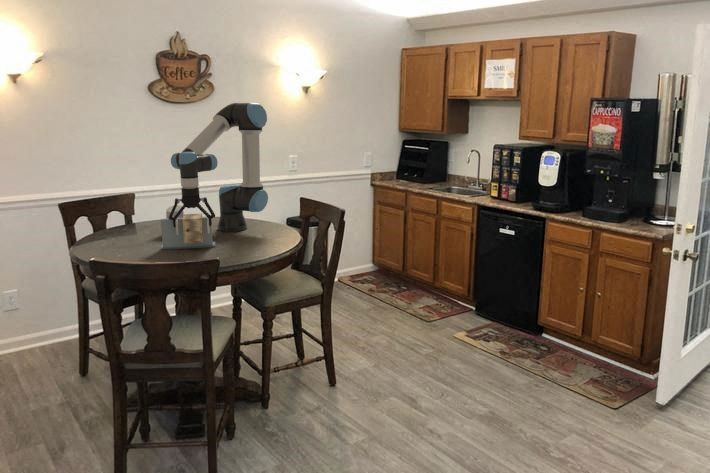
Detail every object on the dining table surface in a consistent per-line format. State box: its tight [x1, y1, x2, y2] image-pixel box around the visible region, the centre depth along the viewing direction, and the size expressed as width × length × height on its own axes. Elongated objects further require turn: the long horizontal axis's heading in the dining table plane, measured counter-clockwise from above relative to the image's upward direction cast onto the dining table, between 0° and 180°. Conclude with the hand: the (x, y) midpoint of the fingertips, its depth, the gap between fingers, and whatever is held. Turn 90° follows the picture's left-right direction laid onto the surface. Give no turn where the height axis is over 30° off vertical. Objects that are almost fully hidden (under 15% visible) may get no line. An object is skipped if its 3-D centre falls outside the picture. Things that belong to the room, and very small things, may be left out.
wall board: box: [160, 216, 216, 251], centre depth 270 cm, size 24×6×14 cm, turn 102°
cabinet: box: [182, 213, 203, 243], centre depth 265 cm, size 8×11×11 cm
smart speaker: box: [165, 204, 185, 219], centre depth 296 cm, size 10×9×14 cm
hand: (193, 233), depth 264 cm, fingers open, 13 cm apart
